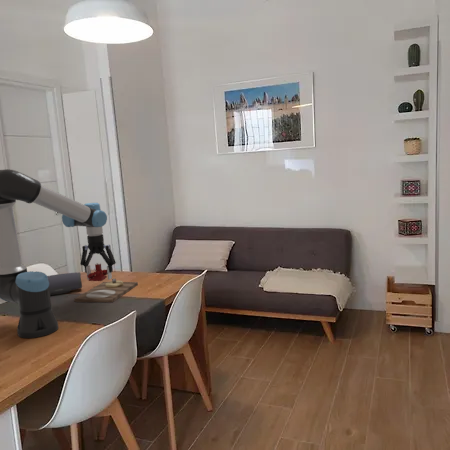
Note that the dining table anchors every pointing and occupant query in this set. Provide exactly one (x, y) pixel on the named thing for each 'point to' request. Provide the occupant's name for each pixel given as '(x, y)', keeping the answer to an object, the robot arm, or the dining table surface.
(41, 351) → the dining table surface
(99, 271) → the red branched block
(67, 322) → the dining table surface
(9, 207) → the robot arm
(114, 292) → the gear board
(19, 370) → the dining table surface
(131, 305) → the dining table surface
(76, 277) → the bluetooth speaker
